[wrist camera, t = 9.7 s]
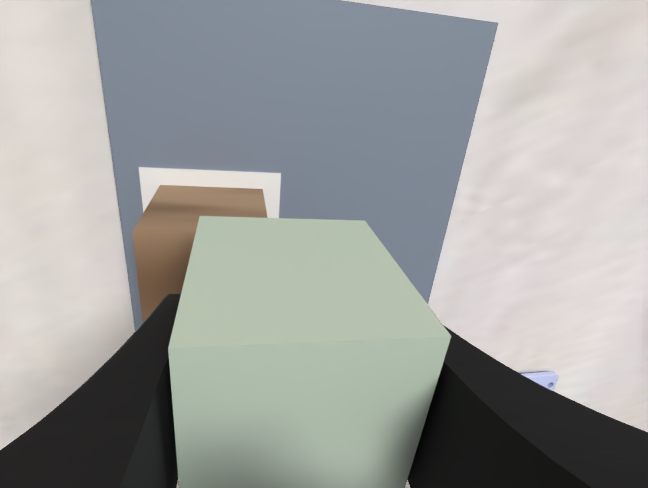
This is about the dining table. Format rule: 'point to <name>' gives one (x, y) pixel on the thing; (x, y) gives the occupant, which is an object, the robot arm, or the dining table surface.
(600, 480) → the robot arm
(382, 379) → the sage block
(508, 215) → the dining table surface
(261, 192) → the walnut block
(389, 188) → the grey mat
